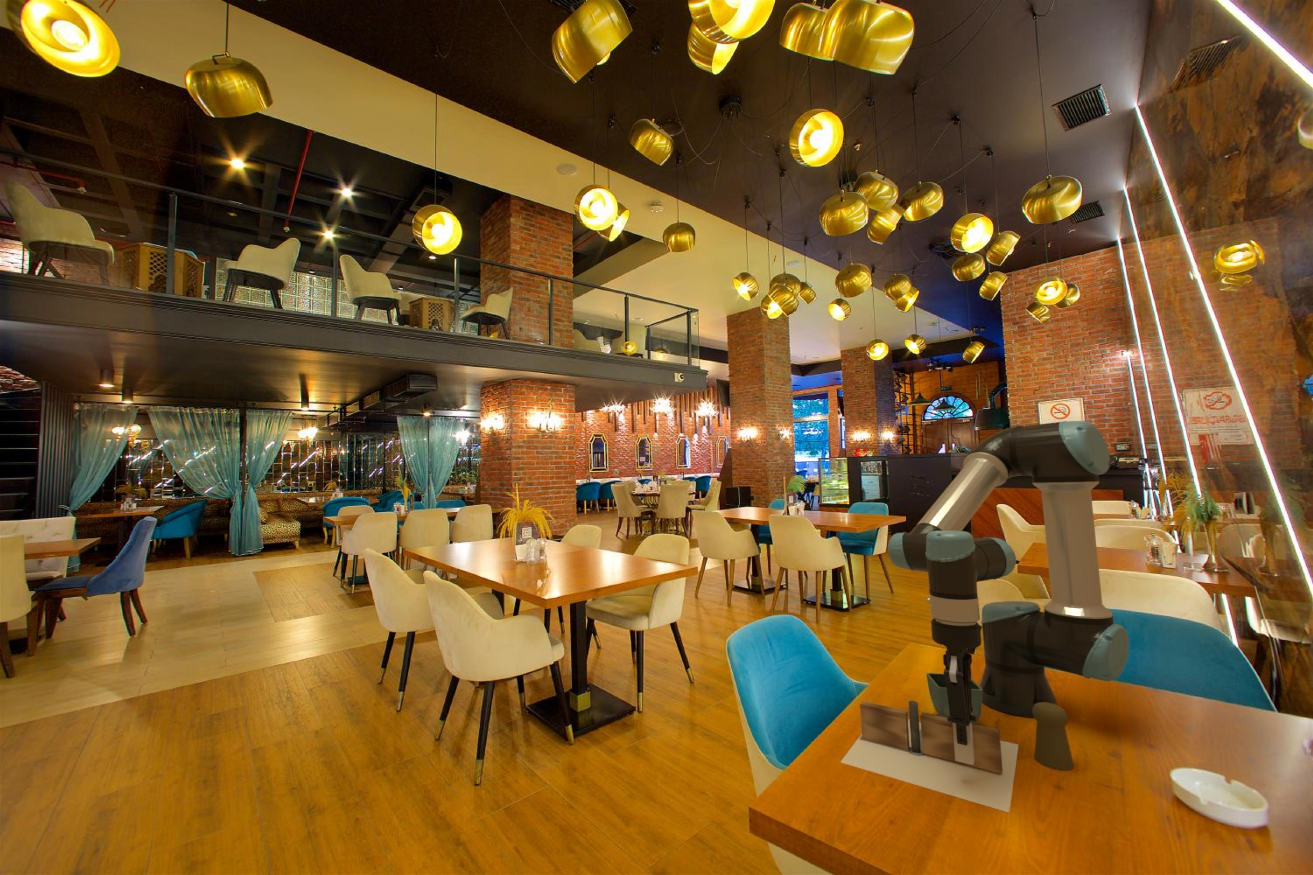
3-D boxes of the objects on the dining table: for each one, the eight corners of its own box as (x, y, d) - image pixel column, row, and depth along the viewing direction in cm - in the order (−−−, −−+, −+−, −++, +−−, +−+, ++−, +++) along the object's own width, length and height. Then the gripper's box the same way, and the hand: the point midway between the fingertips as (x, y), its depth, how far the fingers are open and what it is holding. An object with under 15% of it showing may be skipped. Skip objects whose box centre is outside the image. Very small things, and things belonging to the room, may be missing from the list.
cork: (1067, 761, 97) (1062, 700, 98) (1081, 779, 92) (1075, 713, 93) (1029, 757, 99) (1024, 696, 100) (1040, 773, 94) (1035, 709, 95)
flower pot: (987, 734, 108) (983, 689, 109) (940, 731, 110) (937, 686, 111) (970, 716, 117) (967, 674, 118) (928, 713, 119) (925, 672, 120)
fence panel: (922, 753, 99) (920, 715, 99) (924, 749, 100) (922, 712, 101) (1001, 773, 91) (998, 733, 92) (1002, 769, 93) (999, 729, 93)
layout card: (1019, 749, 102) (1018, 744, 102) (1009, 819, 81) (1009, 811, 81) (878, 716, 118) (878, 711, 118) (840, 767, 97) (840, 761, 97)
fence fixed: (921, 750, 100) (918, 701, 101) (919, 754, 99) (916, 704, 100) (864, 735, 107) (862, 689, 108) (861, 739, 105) (859, 692, 106)
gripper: (937, 609, 100) (946, 739, 98) (923, 625, 89) (933, 771, 87) (983, 615, 95) (994, 751, 93) (975, 632, 85) (986, 785, 83)
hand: (964, 760), depth 90 cm, fingers closed
